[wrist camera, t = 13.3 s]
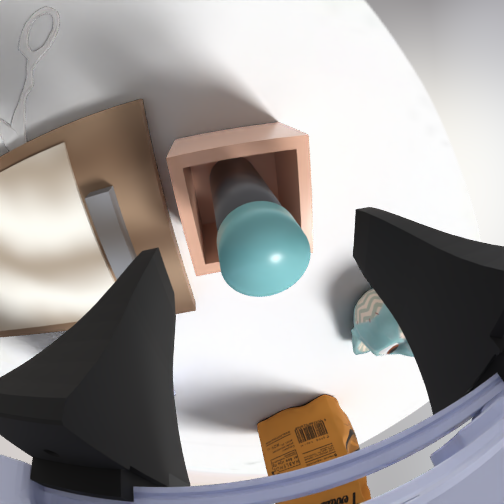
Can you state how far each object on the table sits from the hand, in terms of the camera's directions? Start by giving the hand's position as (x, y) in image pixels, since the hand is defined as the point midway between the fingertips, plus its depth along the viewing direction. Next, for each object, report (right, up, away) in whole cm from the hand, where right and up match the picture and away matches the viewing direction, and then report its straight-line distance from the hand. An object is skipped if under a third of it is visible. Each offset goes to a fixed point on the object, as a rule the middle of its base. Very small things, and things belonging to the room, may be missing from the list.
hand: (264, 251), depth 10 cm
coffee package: (+7, -24, +27) cm, 36 cm away
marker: (-2, +4, +7) cm, 8 cm away
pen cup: (-2, +4, +7) cm, 9 cm away
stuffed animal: (+13, -6, +17) cm, 22 cm away
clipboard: (-17, 0, +7) cm, 19 cm away
